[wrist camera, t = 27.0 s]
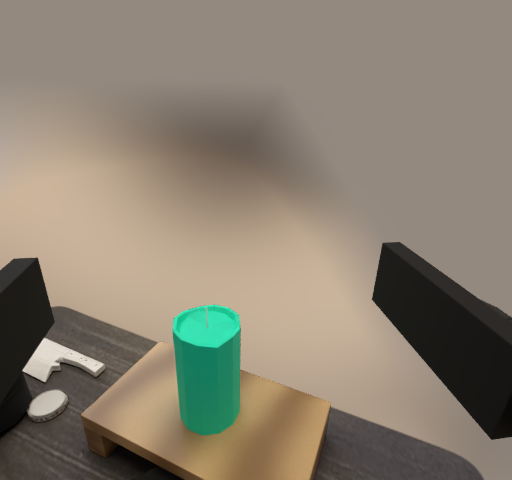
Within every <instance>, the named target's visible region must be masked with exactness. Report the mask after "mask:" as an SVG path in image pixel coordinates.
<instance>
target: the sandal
mask: <svg viewBox="0 0 512 480" xmlns="http://www.w3.org/2000/svg"><path fill="white" fill-rule="evenodd" d="M132 480H184V479H182V478H181V477H179V476H177V475H175V474H173V473H171V472H169V471H168V470H166V469H164V468H162V467H160V466H157V467H155V468H153V469H151V470H148V471H146V472H145V473H143V474H141V475H139V476H137V477H135V478H134V479H132Z"/></svg>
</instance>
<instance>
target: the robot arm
mask: <svg viewBox="0 0 512 480" xmlns="http://www.w3.org/2000/svg"><path fill="white" fill-rule="evenodd" d="M372 300H373V301H374V302H375V304H376V305H377V306H378V307H379V308H380V309H381V311H382V312H383V313H384V314H385V315H386V317H388V319H389V320H390V321H391V322H392V324H393V325H394V326H395V327H396V328H397V329H398V331H399V332H400V333H401V334H402V335H403V336H404V338H405V339H406V340H407V341H408V342H409V344H410V345H411V346H412V347H413V348H414V349H415V351H416V352H417V353H418V354H419V355H420V356H421V358H422V359H423V360H424V361H425V362H426V363H427V365H428V366H429V367H430V368H431V369H432V370H433V372H434V373H435V374H436V375H437V376H438V378H439V379H440V380H441V381H442V382H443V383H444V385H445V386H446V387H447V388H448V389H449V390H450V392H451V393H452V394H453V395H454V396H455V397H456V399H457V400H458V401H459V402H460V403H461V404H462V406H463V407H464V408H465V409H466V410H467V411H468V413H469V414H470V415H471V416H472V417H473V419H474V420H475V421H476V422H477V423H478V424H479V426H480V427H481V428H482V429H483V430H484V432H485V433H486V434H487V435H488V436H489V437H490V439H492V440H493V439H500V438H506V437H512V318H511V317H510V316H508V315H507V314H506V313H504V312H503V311H501V310H500V309H498V308H497V307H495V306H492V305H491V304H488V303H486V302H484V301H482V300H480V299H478V298H477V297H475V296H474V295H473V294H471V293H470V292H468V291H467V290H466V289H464V288H463V287H461V286H460V285H459V284H457V283H456V282H454V281H453V280H452V279H450V278H449V277H448V276H446V275H445V274H443V273H442V272H441V271H439V270H438V269H436V268H435V267H434V266H432V265H431V264H429V263H428V262H427V261H425V260H424V259H423V258H421V257H420V256H418V255H417V254H416V253H414V252H413V251H411V250H410V249H409V248H407V247H406V246H404V245H403V244H402V243H400V242H394V243H383V245H382V249H381V255H380V260H379V265H378V270H377V276H376V281H375V286H374V292H373V297H372ZM54 322H55V321H54V318H53V314H52V310H51V306H50V303H49V299H48V295H47V291H46V287H45V283H44V280H43V276H42V272H41V269H40V265H39V261H38V258H19V259H13V260H12V261H11V262H10V263H8V264H7V265H6V266H5V267H4V268H2V270H0V404H1V402H2V401H3V399H4V398H5V396H6V395H7V393H8V392H9V390H10V389H11V387H12V386H13V384H14V382H15V381H16V379H17V378H18V376H19V375H20V373H21V372H22V370H23V369H24V367H25V366H26V364H27V363H28V361H29V360H30V358H31V357H32V355H33V354H34V352H35V351H36V349H37V348H38V346H39V345H40V343H41V342H42V340H43V339H44V337H45V336H46V334H47V333H48V331H49V330H50V328H51V326H52V325H53V323H54Z"/></svg>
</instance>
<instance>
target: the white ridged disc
mask: <svg viewBox="0 0 512 480" xmlns="http://www.w3.org/2000/svg"><path fill="white" fill-rule="evenodd" d="M67 404H68V396H67V393H66V392H65V391H64V390H61V389H52V390H48V391H45V392H43V393H41V394H39V395H38V396H37V397H35V398H34V399H33V400H32V401H31V402H30V404H29V408H27V413H28V415H29V418H30V419H31V420H33V421H36V422H42V421H46V420H49V419H52V418H54V417H55V416H57V415H58V414H60V413H61V412H62V411H63V410H64V409H65V407H66V406H67Z"/></svg>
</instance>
